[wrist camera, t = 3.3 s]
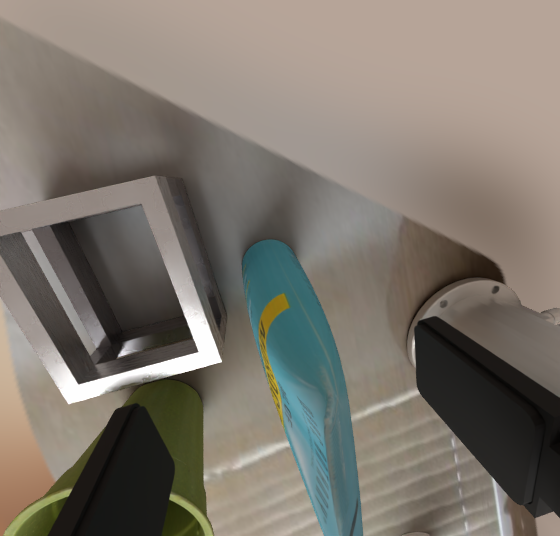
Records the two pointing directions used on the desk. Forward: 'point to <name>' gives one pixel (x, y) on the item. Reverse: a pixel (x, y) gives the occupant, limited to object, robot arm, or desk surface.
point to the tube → (305, 382)
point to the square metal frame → (91, 301)
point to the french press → (416, 534)
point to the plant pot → (182, 447)
